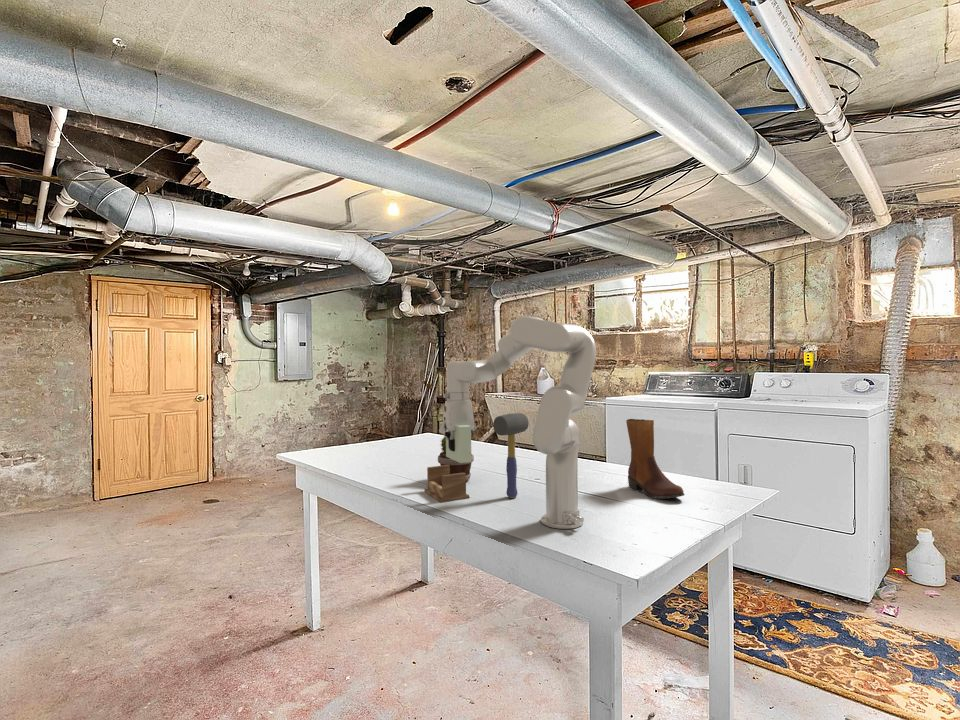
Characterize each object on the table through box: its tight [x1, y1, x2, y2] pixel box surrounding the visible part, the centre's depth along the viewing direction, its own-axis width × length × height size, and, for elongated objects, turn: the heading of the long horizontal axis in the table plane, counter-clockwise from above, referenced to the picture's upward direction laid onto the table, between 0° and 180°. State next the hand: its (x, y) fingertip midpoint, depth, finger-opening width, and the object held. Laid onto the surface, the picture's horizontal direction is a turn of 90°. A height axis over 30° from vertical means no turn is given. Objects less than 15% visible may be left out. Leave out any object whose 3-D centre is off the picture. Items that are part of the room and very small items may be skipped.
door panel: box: [445, 425, 472, 463], centre depth 174 cm, size 12×4×12 cm, turn 27°
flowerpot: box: [437, 434, 475, 483], centre depth 203 cm, size 14×15×20 cm
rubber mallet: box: [492, 412, 530, 499], centre depth 179 cm, size 12×8×30 cm, turn 135°
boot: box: [625, 418, 685, 500], centre depth 182 cm, size 25×9×27 cm, turn 17°
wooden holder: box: [424, 465, 470, 503], centre depth 184 cm, size 16×11×9 cm
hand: (458, 449), depth 174 cm, fingers closed on door panel, 4 cm apart
